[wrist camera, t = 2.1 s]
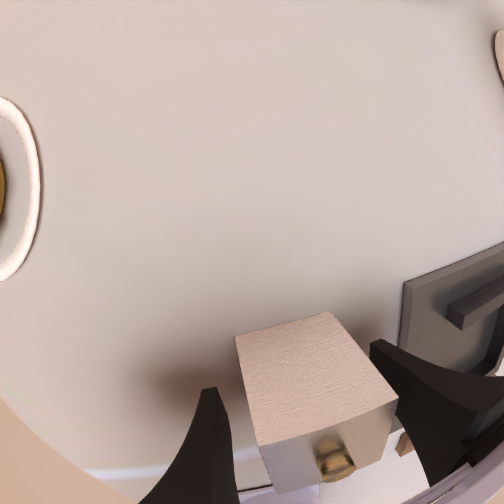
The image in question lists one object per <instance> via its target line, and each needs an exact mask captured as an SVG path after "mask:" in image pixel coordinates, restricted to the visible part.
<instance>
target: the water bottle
mask: <svg viewBox="0 0 504 504" xmlns="http://www.w3.org/2000/svg"><path fill="white" fill-rule="evenodd" d="M495 53H496V58H497V62H498V66H499V69H500V73H501V75H502V78H503V81H504V29H502V30H500V31H499V32H498V33H497V35H496V38H495Z"/></svg>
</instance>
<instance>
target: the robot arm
mask: <svg viewBox="0 0 504 504" xmlns="http://www.w3.org/2000/svg"><path fill="white" fill-rule="evenodd" d="M369 360H370V361H371V362H372V364H373V365H374V366H375V367H376V369H377V370H378V371H379V372H380V374H381V375H382V376H383V377H384V379H385V380H386V381H387V383H388V384H389V385H390V386H391V388H392V389H393V390H394V392H395V393H396V394H397V395H398V397H399V399H398V403H397V407H396V411H395V415H396V417H397V418H398V420H399V421H400V423H401V424H402V426H403V427H404V429H405V431H406V433H407V435H408V436H409V438H410V440H411V442H412V444H413V446H414V448H415V450H416V452H417V455H418V457H419V459H420V462H421V464H422V466H423V469H424V472H425V474H426V477H427V480H428V483H429V486H430V488H429V489H427V490H426V491H424V492H422V493H421V494H419V495H417V496H415V497H414V498H412V499H410V500H408V501H406V502H404V503H402V504H430V503H432V502H433V501H435V500H437V499H438V498H440V497H441V496H443V495H444V494H446V493H447V492H449V493H447V494H446V495H445V496H443V497H442V498H441V499H439V500H438V501H436V502H435V503H434V504H485V503H487V502H488V501H489V500H490V499H491V498H492V497H493V496H494V495H495V494H497V493H498V492H499V491H500V490H501V489H502V488H503V487H504V376H480V375H473V374H467V373H462V372H457V371H453V370H450V369H447V368H443V367H440V366H438V365H435V364H432V363H430V362H427V361H425V360H423V359H421V358H418V357H416V356H414V355H412V354H410V353H408V352H406V351H404V350H402V349H400V348H398V347H396V346H394V345H392V344H391V343H389V342H387V341H385V340H383V339H379V340H377V341H374V342H372V343H370V354H369ZM138 504H319V484H316V485H313V486H310V487H306V488H303V489H299V490H296V491H292V492H288V493H284V494H280V495H277V494H276V492H275V489H274V487H273V486H270V487H266V488H261V489H256V490H250V491H245V492H237V487H236V482H235V475H234V464H233V451H232V438H231V430H230V425H229V420H228V415H227V412H226V410H225V407H224V405H223V402H222V400H221V397H220V395H219V392H218V390H217V387H213V388H208V389H203V390H202V391H201V394H200V398H199V402H198V406H197V409H196V412H195V415H194V418H193V420H192V423H191V426H190V428H189V431H188V433H187V435H186V438H185V440H184V442H183V444H182V446H181V448H180V450H179V452H178V454H177V455H176V457H175V459H174V461H173V462H172V464H171V465H170V467H169V468H168V470H167V471H166V473H165V474H164V475H163V477H162V478H161V479H160V481H159V482H158V483H157V484H156V485H155V487H154V488H153V489H152V490H151V491H150V492H149V493H148V495H147V496H146V497H144V498H143V499H142V500H141V501H140V502H139V503H138Z"/></svg>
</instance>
